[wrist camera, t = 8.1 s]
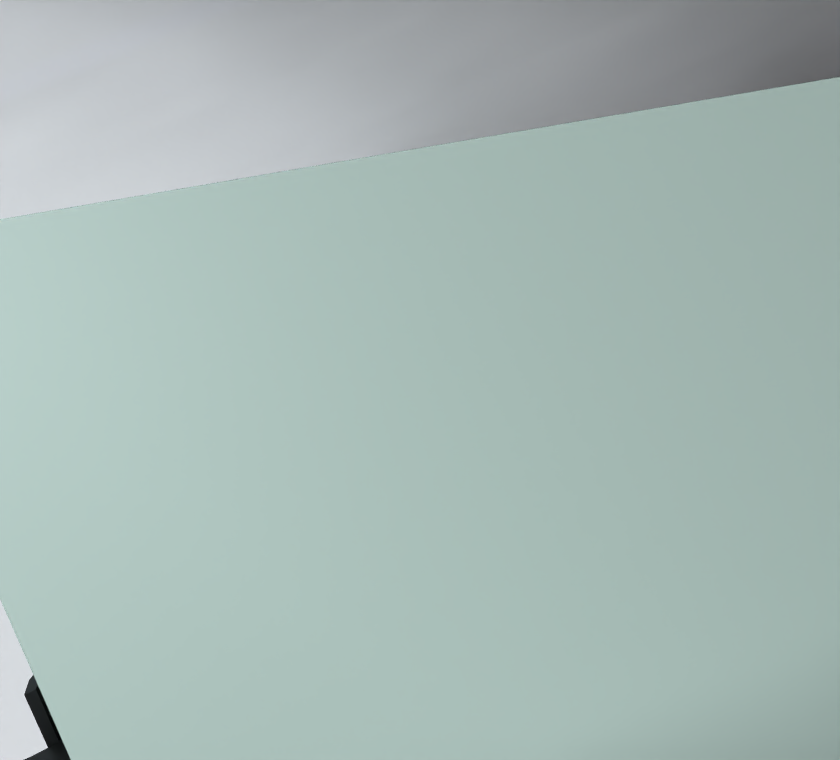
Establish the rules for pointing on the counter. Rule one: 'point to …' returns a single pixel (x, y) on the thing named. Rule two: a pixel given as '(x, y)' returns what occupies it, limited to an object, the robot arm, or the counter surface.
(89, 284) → the pale green boxy piece
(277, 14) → the counter surface
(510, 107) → the counter surface
